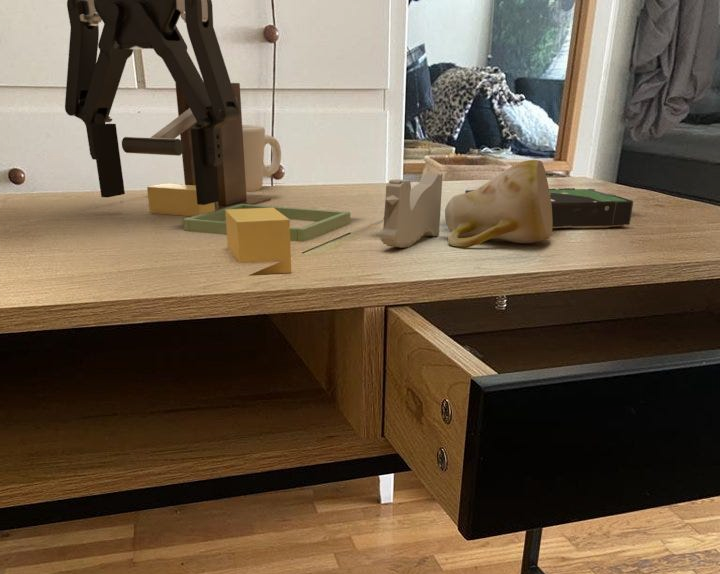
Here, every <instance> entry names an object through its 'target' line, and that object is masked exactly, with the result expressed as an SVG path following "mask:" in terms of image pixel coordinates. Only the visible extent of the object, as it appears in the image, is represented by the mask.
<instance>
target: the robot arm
mask: <svg viewBox="0 0 720 574" xmlns="http://www.w3.org/2000/svg"><path fill="white" fill-rule="evenodd" d="M66 8H67V13H68V19H69V26H70V33H69V47H68V61H67V70H66V71H67V72H66V86H65V101H64V110H65V113H66V114H67V116H70V117H76V118H78V119H79V120H81V121H82V122H83V123H84V125H85V129H86V135H87V142H88V150H89V155H90V157H91V159H92V160H95V162H96V171H97V177H98V182H99V190H100V197H101V198H106V199H107V198H112V197H113V198H114V197H118V196H123V195H125V194H126V192H125V186H124V185H125V184H124V178H123V177H124V176H123V168H122V162H121V161H122V160H121V154H120V146H119V145H120V144H119V139H118V132H117V131H118V130H117V124H116V123H111V122H112V121H113V118H111V116H110V113H111V110H112V108H113V104H114V101H115V98H116V95H117V91H118V89H119V85H120V82H121V79H122V76H123V73H124V70H125V67H126V63H127V61H128V59H129V58H130V57H131V56H132V55H133V53H134V50H153V51H154V53H155V54H156V55H157V56H158V57H159V58H160V59H162V61H163V63H164V64H165V66H166V68H167V70H168V72H169V74H170V75H171V77H172V79H173V81H174V84H175V83H176V84H177V86H178V88H179V90H180V92H181V93H182V95H183V97H184V99H185V101H186V102H187V104H188V106H189V108H190V110H191V111H192V113H193V115H194V117H195V119H196V121H197V123H196V124H195V125H194V126H195V127H196V128H193V129H191V139H192V150H193V161H194V172H195V183H196V195H197V204H198V205H206V204H210V203H214V202H218V201H220V200H219V187H218V174H217V165H222V162H223V148H222V134H221V129H222V126H223V125H224V124H225V123H227V122H229V121H231V120H233V119H237V118H238V117H239V115H240V110H239V107H238V104H237V101H236V97H235V94H234V91H233V88H232V85H231V83H232V82H231V78H230V75H229V72H228V69H227V66H226V63H225V59H224V57H223V53H222V50H221V46H220V43H219V40H218V37H217V34H216V30H215V28H214V12H213V1H212V0H67V1H66ZM180 18H181V20H183V22H184V23H185V26H186V30H187V34H188V38H189V41H190V45H191V47H192V50H193V54H194V56H195V60H196V62H197V66H198V68H199V71H198V69H197V67H196V65H195V63H194V62H193V59H192V58H191V56H190V54H189V52H188V45H187V43H186V41H185V39H184V37H183V36H182V34H181V32H180V30H179V28H178V26H177V24H178V22H179V20H180ZM101 23H103V27H102V31H101V35H100V28H99V24H101ZM99 36H100V37H99ZM98 50H99V53H98Z"/></svg>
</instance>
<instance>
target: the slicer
mask: <svg viewBox="0 0 720 574" xmlns="http://www.w3.org/2000/svg"><path fill="white" fill-rule="evenodd" d="M174 84H175V94H176V105H177V114H178V115H177V117H178V116H180V115H181V114H182V113H184V112H185V111H186V110H188V109H189V106H188V104H187V102H186V101H185V99H184V97H183V95H182V93H181V92H180V90H179V88H178V86H177V84H176V83H175V82H174ZM231 85H232V88H233V91H234V94H235V97H236V101H237V104H238V107H239V110H240V115H239V117H238V118H237V119H233V120H231V121H229V122H227V123H225V124H224V125H223V126H222V129H221V134H222V148H223V162H222V165H217V174H218V187H219V200H220V201H218V202H214V203H215V211H216V210H220V209H223V208H227V207H231V206H235V205H238V204H249V205H260V204H263V203H266V202H270V201H272V197H262V196H261V197H259V196H247V192H246V180H245V163H244V146H243V130H242V125H243V115H242V114H243V113H242V100H241V99H242V97H241V84H240V82H231ZM196 123H197V122H195V123H194V124H193V125H192V126H190V127H189V128H188V129H187V130H185V131H184V132H183V133H181V134H180V135H179V136H180V138H179V139H180V140H181V141H182V144H183V152H182V154H181V157H182V158H181V159H182V168H183V180H184V185H194V186H196V183H195V172H194V161H193V150H192V139H191V129H193V128H196V127H195V126H194V125H195V124H196Z"/></svg>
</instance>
